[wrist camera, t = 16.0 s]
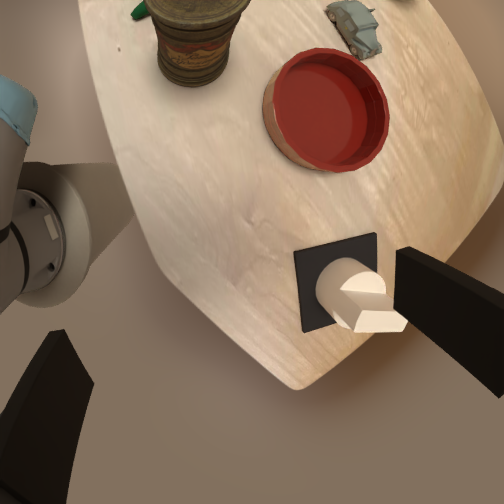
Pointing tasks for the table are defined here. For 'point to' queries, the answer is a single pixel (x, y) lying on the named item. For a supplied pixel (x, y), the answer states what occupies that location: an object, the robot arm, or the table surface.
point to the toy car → (356, 27)
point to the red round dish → (326, 111)
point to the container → (194, 37)
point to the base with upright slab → (357, 298)
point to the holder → (314, 263)
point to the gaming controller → (139, 11)
